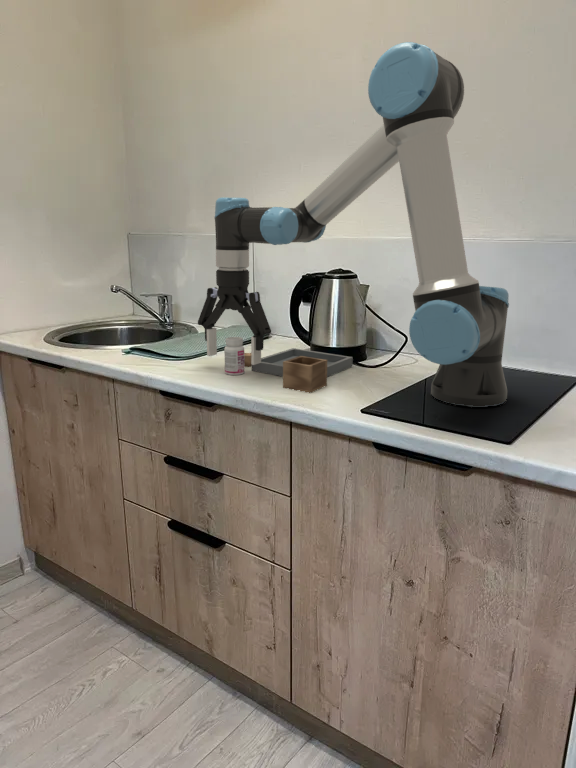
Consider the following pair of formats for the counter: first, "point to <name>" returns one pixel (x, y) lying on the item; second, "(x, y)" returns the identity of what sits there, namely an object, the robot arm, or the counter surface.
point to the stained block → (247, 359)
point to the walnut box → (305, 373)
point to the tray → (275, 361)
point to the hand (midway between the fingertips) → (233, 359)
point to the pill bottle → (234, 356)
